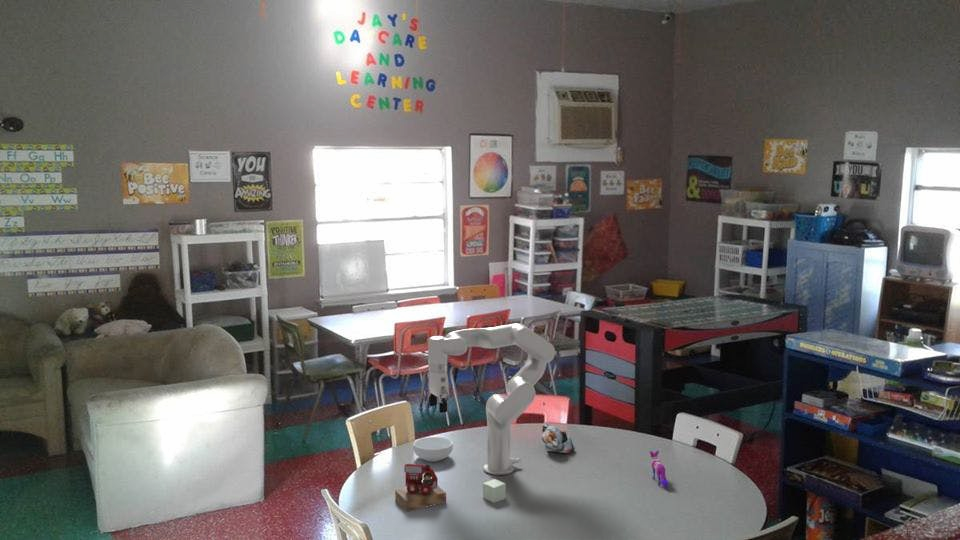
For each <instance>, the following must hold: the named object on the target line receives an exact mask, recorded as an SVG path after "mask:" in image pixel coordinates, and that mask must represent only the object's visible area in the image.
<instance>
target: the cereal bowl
mask: <svg viewBox="0 0 960 540" xmlns="http://www.w3.org/2000/svg"><path fill="white" fill-rule="evenodd" d="M453 444H454V442H453V441H452V440H451V439H448V438H447V437H440V436H430V437H429V436H428V437H424V438H420V439H417V440H415V441H414V442H413V445H412V446H413V452H414V454H415V455H416V457H418V458H419V459H422V460H424V461H425V460H426V461H425V462H428V461H430V462H429V463H435V462H436V461H437V462H440V461H441V460H444V459H446V458H447V457H449V456H450V455H451V454H452V451H453V447H454V445H453Z"/></svg>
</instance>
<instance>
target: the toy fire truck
mask: <svg viewBox="0 0 960 540" xmlns="http://www.w3.org/2000/svg"><path fill="white" fill-rule="evenodd" d="M403 469H404V473H405V488H407V491H408V493H410V494H415V493H416V492H417V491H418V488H420V491H421V493H422V494H424V495H428V494H430V492H431V489H436V488H437V485H438V476H437V474H436V472H435V471H434V469H433V468H431V466H430V464H428V463H427V464H425V465H424V464H417V463H406V464H405V465H404V468H403ZM438 486H439V485H438Z"/></svg>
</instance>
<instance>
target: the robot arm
mask: <svg viewBox="0 0 960 540" xmlns="http://www.w3.org/2000/svg"><path fill="white" fill-rule="evenodd" d="M514 345H515V346H517V347H519V348H520V349H521V350H523V351H524V352H526V353H527V359H526V361H525V363H524V364H523V366H522V367H521V368H520V369H519V370H518V371H517V372H516V373H515V374H514V375H513V376H512V377H511V378H510V380H508V382H507V383H506V385H505V391H506V393H507V396H505V395H503V394H499V393H497V394H496V393H495V394H493V395H490V397H489V398H488V399H487V401H486V404H485V415H486V423H487V424H486V425H487V429H486V431H487V432H486V434H487V435H486V436H487V437H486V442H487V443H486V444H487V446H486V448H487V450H486V451H487V452H486V454H487V456H486V457H487V458H486V460H487V461H486V463H485V464H483V471H484V472H485V473H487V474H489V475H492V476H493V475H494V476H505V475H510V474H511V473H513V472H514V470H515V467H514V465H515V464H519V463H521V461H522V460H521V458H520V457H517V458H515V457H514V456H512V457H511V425H512V423H514V422H515V421H517V419H518V418H520V416H521V415H522V414H523V413H524V412H525V411H526V410H527V408H529V407H530V406H531V404H532V403H533V402H534V400H535V398H536V390H535V387H534V386H535V385H536V384H537V382H538V381H539V380H540V379H541V378H542V377H543V375H544V373H545V371H546V368H547V364H548V363H550V362H551V361H553V359H555V356H556V349H555V347H554V345H553V344H552V343H551V342H549V341H548V340H546V339H544V338H543V337H541V336H540V335H539V334H537V333H536V332H535V331H534V330H532V329H531V328H530V327H528V326H526V325H525V324H523V323H517V322H515V323H509V324H504V325H498V326H494V327H493V326H492V327H481V328H480V327H479V328H464V329H460V330H455V331H450V332H449V333H447V334H446V335H445V336H443V335H442V336H441V335H434V336H433V335H432V336H431V337H429V338H428V341H427V348H428V349H427V354H428V355H427V356H428V357H427V359H428V362H427V363H428V368H427V369H428V383H427V387H428V399H429V400H428V402H429V403H428V404H429V407H434V406H437V405H438V410H439V411H438V412H439V413H440V414H443V413H447V412H448V402H449V401H448V400H449V395H450V393H449V392H450V390H449V389H450V388H449V387H450V386H449V377H448V355H449V356H462V355H464V354H465V353H467V350H468V348H469V347H470V348H471V347H479V348H483V349H497V348H503V347H509V346H514ZM438 399H439V403H438Z"/></svg>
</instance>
